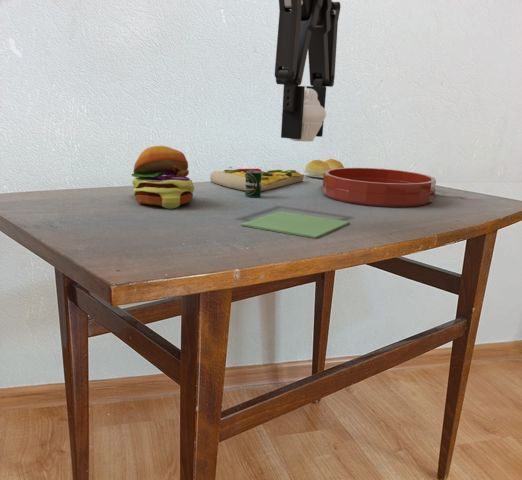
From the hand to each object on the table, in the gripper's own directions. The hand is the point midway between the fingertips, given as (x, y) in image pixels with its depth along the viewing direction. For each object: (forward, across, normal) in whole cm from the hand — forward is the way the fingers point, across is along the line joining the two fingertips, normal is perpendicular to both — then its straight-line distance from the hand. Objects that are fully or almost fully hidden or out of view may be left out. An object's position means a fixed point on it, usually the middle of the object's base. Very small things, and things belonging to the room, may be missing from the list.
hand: (302, 136), depth 82 cm
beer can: (+13, -16, -17) cm, 26 cm away
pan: (+12, -32, +1) cm, 34 cm away
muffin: (+1, 0, 0) cm, 1 cm away
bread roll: (+13, -48, -17) cm, 52 cm away
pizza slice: (+13, -30, -22) cm, 39 cm away
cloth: (+12, 0, 0) cm, 12 cm away
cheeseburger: (+13, 0, -25) cm, 28 cm away
